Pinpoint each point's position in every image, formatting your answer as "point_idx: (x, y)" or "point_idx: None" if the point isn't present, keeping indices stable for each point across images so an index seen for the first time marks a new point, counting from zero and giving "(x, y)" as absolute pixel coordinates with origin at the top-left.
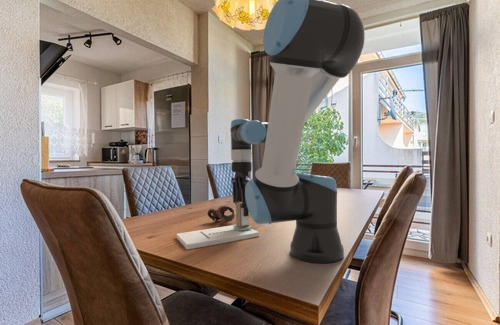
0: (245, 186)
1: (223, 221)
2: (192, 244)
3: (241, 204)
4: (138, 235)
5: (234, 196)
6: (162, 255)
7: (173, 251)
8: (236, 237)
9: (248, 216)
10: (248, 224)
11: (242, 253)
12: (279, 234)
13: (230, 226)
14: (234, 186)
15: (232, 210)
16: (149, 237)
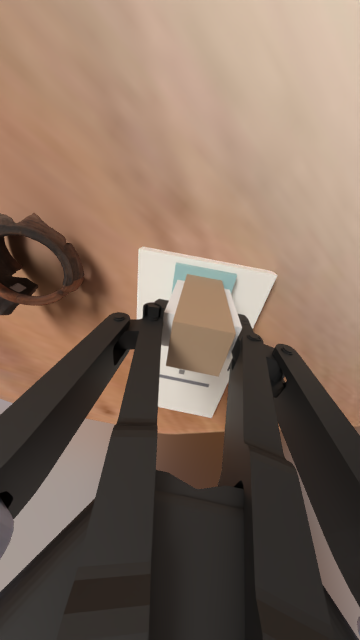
0: (348, 555)
1: (78, 283)
2: (213, 411)
3: (220, 365)
4: (88, 416)
5: (114, 372)
6: (206, 431)
7: (202, 420)
8: None
9: (233, 304)
10: (229, 291)
11: (315, 373)
12: (333, 183)
13: (148, 299)
14: (59, 450)
15: (18, 234)
16: (109, 412)
